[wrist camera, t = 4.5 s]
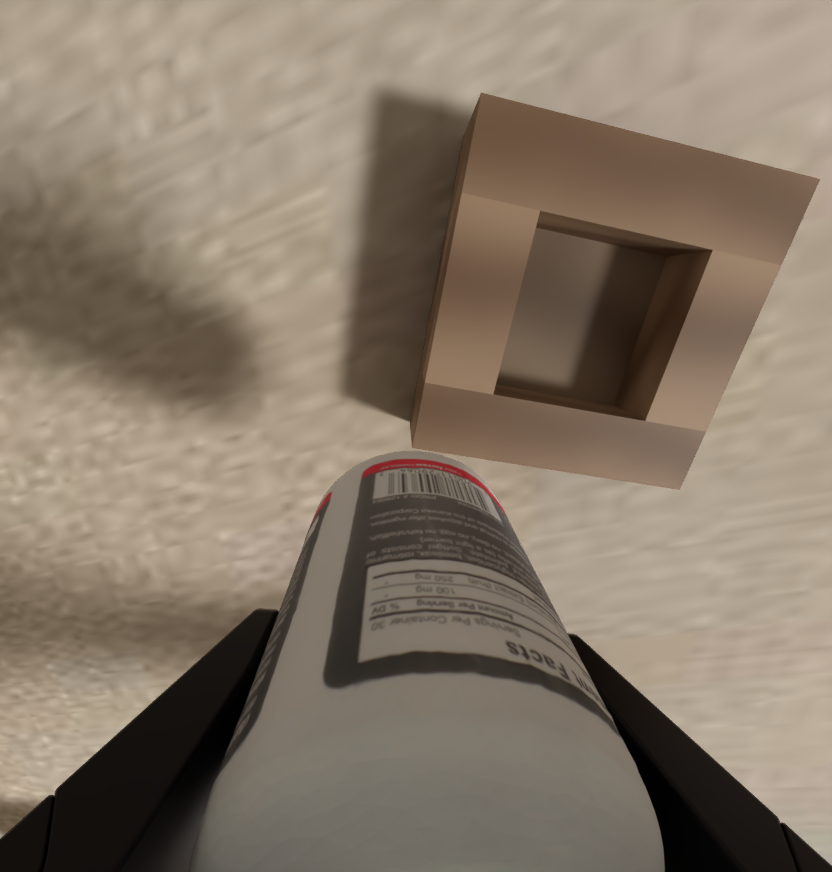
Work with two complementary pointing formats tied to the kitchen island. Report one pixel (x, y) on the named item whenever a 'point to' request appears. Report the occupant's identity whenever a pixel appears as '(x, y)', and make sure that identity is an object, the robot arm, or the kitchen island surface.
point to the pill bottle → (422, 703)
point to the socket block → (594, 294)
